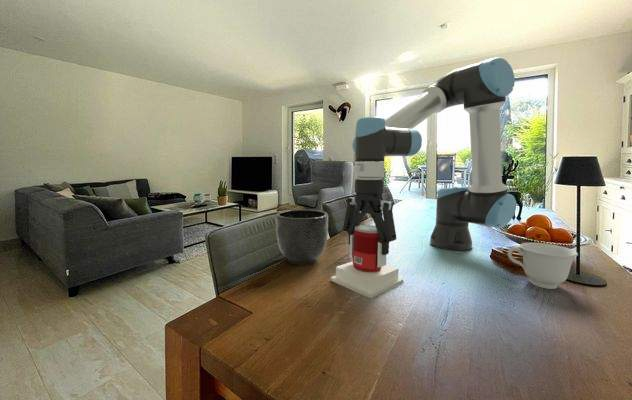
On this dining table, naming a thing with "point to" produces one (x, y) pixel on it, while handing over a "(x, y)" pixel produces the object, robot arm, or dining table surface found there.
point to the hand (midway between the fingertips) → (367, 261)
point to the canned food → (366, 248)
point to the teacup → (545, 263)
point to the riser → (367, 279)
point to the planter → (302, 235)
